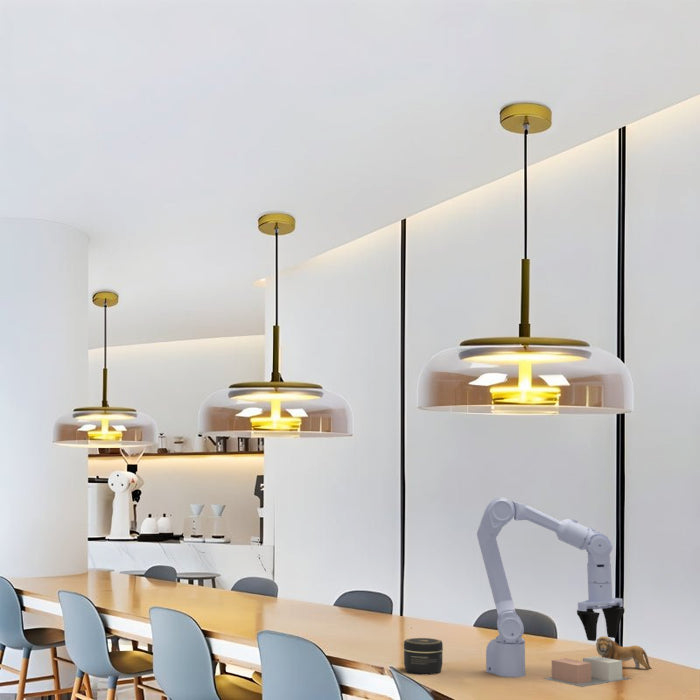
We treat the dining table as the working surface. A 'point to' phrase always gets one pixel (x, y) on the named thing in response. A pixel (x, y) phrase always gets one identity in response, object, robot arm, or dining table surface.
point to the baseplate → (593, 682)
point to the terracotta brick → (571, 670)
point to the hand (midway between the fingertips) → (601, 639)
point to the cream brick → (605, 668)
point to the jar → (423, 655)
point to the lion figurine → (621, 652)
